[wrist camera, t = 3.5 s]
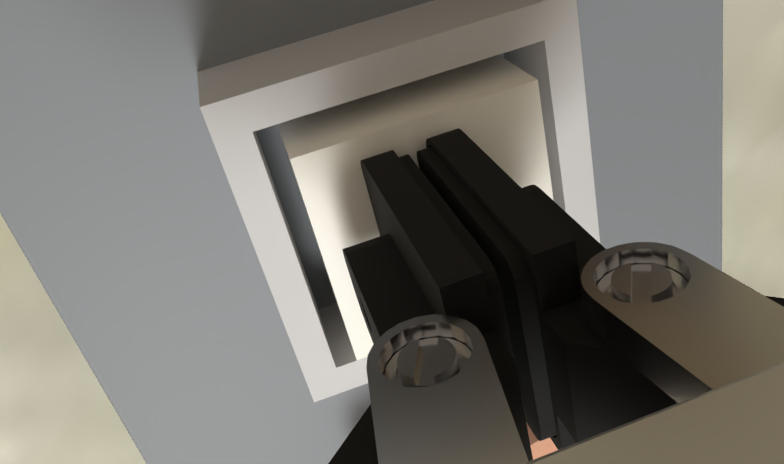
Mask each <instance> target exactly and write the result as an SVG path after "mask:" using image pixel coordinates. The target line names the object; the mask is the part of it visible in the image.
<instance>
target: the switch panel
mask: <svg viewBox="0 0 784 464" xmlns="http://www.w3.org/2000/svg"><path fill="white" fill-rule="evenodd" d="M496 55H499V56H501V57H503V58H504V59H506V60H507V61H509V62H510V63H512V64H514V65H515V66H517V67H518V68H520V69H522V70H523V71H525V72H526V73H528V74H529V75H531V76H533V77H534V78H536V79H537V80H538V86H539V93H540V101H541V109H542V116H543V124H544V131H545V139H546V147H547V154H548V162H549V169H550V177H551V184H552V192H553V200H554V202H555V203H557V204H558V205H559V206H560V207H561V208H562V209H563V210H564V211H565V212H566V213H567V214H568V215H570V216H571V217H572V218H573V219H574V220H575V221H576V222H577V223H578V224H579V225H580V226H582V227H583V228H584V229H585V230H586V231H587V232H588V233H589V234H590V235H591V236H592V237H593V238H595V239H596V240H597V241H598V242H599V243H600V244H601V245H602V246H603V247H604V248H605V249H608V248H611V247H614V246H617V245H620V244H627V243H633V242H657V243H662V244H667V245H672V246H675V247H677V248H680V249H682V250H684V251H687V252H689V253H690V254H692V255H694V256H696V257H697V258H699V259H701V260H703V261H704V262H706V263H708V264H710V265H711V266H713V267H715V268H717V269H718V270H720V271H722V87H723V0H0V213H1V215H2V217H3V219H4V220H5V222H6V224H7V225H8V227H9V229H10V231H11V232H12V234H13V236H14V237H15V239H16V241H17V243H18V244H19V246H20V248H21V249H22V251H23V253H24V255H25V256H26V258H27V260H28V261H29V263H30V265H31V267H32V268H33V270H34V272H35V273H36V275H37V277H38V279H39V280H40V282H41V284H42V285H43V287H44V289H45V291H46V292H47V294H48V296H49V297H50V299H51V301H52V303H53V304H54V306H55V308H56V309H57V311H58V313H59V315H60V316H61V318H62V320H63V321H64V323H65V325H66V327H67V328H68V330H69V332H70V333H71V335H72V337H73V339H74V340H75V342H76V344H77V345H78V347H79V349H80V350H81V352H82V354H83V356H84V357H85V359H86V361H87V362H88V364H89V366H90V368H91V369H92V371H93V373H94V374H95V376H96V378H97V380H98V381H99V383H100V385H101V386H102V388H103V390H104V392H105V393H106V395H107V397H108V398H109V400H110V402H111V404H112V405H113V407H114V409H115V410H116V412H117V414H118V416H119V417H120V419H121V421H122V422H123V424H124V426H125V428H126V429H127V431H128V433H129V434H130V436H131V438H132V440H133V441H134V443H135V445H136V446H137V448H138V450H139V452H140V453H141V455H142V457H143V458H144V460H145V462H146V464H328V463H329V462H330V460H331V459H332V458H333V456H334V455H335V453H336V452H337V451H338V449H339V448H340V446H341V445H342V444H343V442H344V441H345V439H346V438H347V436H348V435H349V434H350V432H351V431H352V429H353V428H354V427H355V425H356V424H357V422H358V421H359V420H360V418H361V417H362V415H363V414H364V413H365V411H366V410H367V408H368V407H369V406H370V404H371V401H370V393H369V385H368V378H367V370H366V366H367V357H365V358H362V359H360V360H357V359H356V356H355V354H354V351H353V348H352V345H351V342H350V339H349V336H348V333H347V330H346V328H345V325H344V322H343V319H342V316H341V313H340V310H339V307H338V305H337V302H336V299H335V296H334V293H333V290H332V287H331V284H330V281H329V278H328V275H327V272H326V269H325V266H324V263H323V260H322V257H321V254H320V251H319V248H318V245H317V242H316V239H315V236H314V233H313V230H312V227H311V224H310V221H309V218H308V215H307V212H306V209H305V206H304V203H303V200H302V197H301V194H300V191H299V188H298V185H297V182H296V179H295V176H294V173H293V170H292V167H291V164H290V161H289V158H288V155H287V152H286V149H285V146H284V143H283V140H282V137H281V134H280V131H279V128H278V125H277V124H280V123H283V122H286V121H289V120H292V119H295V118H299V117H302V116H305V115H308V114H311V113H315V112H318V111H321V110H324V109H327V108H330V107H334V106H337V105H340V104H343V103H346V102H349V101H353V100H356V99H359V98H362V97H365V96H369V95H372V94H375V93H378V92H381V91H384V90H388V89H391V88H394V87H397V86H400V85H404V84H407V83H410V82H413V81H416V80H419V79H423V78H426V77H429V76H432V75H435V74H438V73H442V72H445V71H448V70H451V69H454V68H458V67H461V66H464V65H467V64H470V63H473V62H477V61H480V60H483V59H486V58H489V57H492V56H496Z"/></svg>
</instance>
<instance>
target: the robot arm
mask: <svg viewBox="0 0 784 464" xmlns="http://www.w3.org/2000/svg"><path fill="white" fill-rule="evenodd" d="M417 159H418V164H419V167H418V166H417V165H416V163H415V162H414V161H413V159H412V158H411V157H410V156H409V155H408V154H407V155H404V156H401V157H398V156H397V154H396V153H395V152H394V151H393V150H391V151H388V152H385V153H382V154H379V155H376V156H372V157H369V158H366V159H363V160H361V161H360V162H361V168H362V172H363V176H364V179H365V183H366V186H367V190H368V194H369V197H370V201H371V204H372V208H373V211H374V215H375V219H376V222H377V226H378V229H379V233H380V237H377V238H374V239H371V240H368V241H365V242H362V243H359V244H356V245H353V246H350V247H347V248H344V249H342V250H343V255H344V258H345V262H346V265H347V268H348V271H349V275H350V278H351V281H352V284H353V287H354V290H355V294H356V297H357V300H358V303H359V306H360V309H361V312H362V314H363V317H364V320H365V323H366V326H367V328H368V331H369V334H370V336H371V339H372V341H373V346H372V348H371V350H370V352H369V354H368V356H367V366H366V370H367V378H368V385H369V393H370V401H371V404H370V406H369V407H368V408H367V410H366V411H365V413H364V414H363V415H362V417H361V418H360V420H359V421H358V422H357V424H356V425H355V427H354V428H353V429H352V431H351V432H350V434H349V435H348V436H347V438H346V439H345V441H344V442H343V444H342V445H341V446H340V448H339V449H338V451H337V452H336V453H335V455H334V456H333V458H332V459H331V460H330V462H329V463H328V464H784V298H776V297H768V296H764V295H762V294H760V293H759V292H757V291H755V290H753V289H752V288H750V287H748V286H746V285H745V284H743V283H741V282H739V281H738V280H736V279H734V278H732V277H731V276H729V275H727V274H725V273H724V272H722V271H720V270H718V269H717V268H715V267H713V266H711V265H710V264H708V263H706V262H704V261H703V260H701V259H699V258H697V257H696V256H694V255H692V254H690V253H689V252H687V251H684V250H682V249H680V248H677V247H675V246H672V245H667V244H662V243H657V242H633V243H627V244H620V245H617V246H614V247H611V248H608V249H605V248H604V247H603V246H602V245H601V244H600V243H599V242H598V241H597V240H596V239H595V238H593V237H592V236H591V235H590V234H589V233H588V232H587V231H586V230H585V229H584V228H583V227H582V226H580V225H579V224H578V223H577V222H576V221H575V220H574V219H573V218H572V217H571V216H570V215H568V214H567V213H566V212H565V211H564V210H563V209H562V208H561V207H560V206H559V205H558V204H557V203H555V202H554V201H553V200H552V199H551V198H550V197H549V196H548V195H547V194H546V193H545V192H544V191H542V190H541V189H540V188H539V187H537V186H536V185H529V186H526V187H523V188H521V187H520V186H519V185H518V184H517V183H516V182H515V181H514V180H513V179H512V178H511V177H510V176H509V175H508V174H506V173H505V172H504V171H503V170H502V169H501V168H500V167H499V166H498V165H497V164H496V163H495V162H494V161H493V160H492V159H491V158H490V157H489V156H488V155H487V154H486V153H485V152H484V151H483V150H482V149H481V148H480V147H479V146H478V145H477V144H476V143H475V142H473V141H472V140H471V139H470V138H469V137H468V136H467V135H466V134H465V133H464V132H463V131H462V130H461V129H459V128H458V129H455V130H452V131H449V132H446V133H443V134H440V135H437V136H434V137H430V138H428V139H426V148H425V149H422V150H419V151H417ZM526 422H527V423H526ZM527 424H528V426H529V427H530V429H531V430H532V432H533V434H534V435H535V437H536V438H537V439H538V440H539V441H542V440H545V439H547V438H551V440H552V441H553V443H554V444H555V446H556V448H557V449H558V450H557V451H554V452H552V453H549V454H547V455H544V456H541V457H539V458H536V459H534V460H533V456H532V451H531V446H530V440H529V434H528V429H527Z"/></svg>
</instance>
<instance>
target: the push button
mask: <svg viewBox="0 0 784 464" xmlns="http://www.w3.org/2000/svg"><path fill="white" fill-rule="evenodd" d="M277 125H278V128H279V131H280V134H281V137H282V140H283V143H284V146H285V149H286V152H287V155H288V158H289V161H290V164H291V167H292V170H293V173H294V176H295V179H296V182H297V185H298V188H299V191H300V194H301V197H302V200H303V203H304V206H305V209H306V212H307V215H308V218H309V221H310V224H311V227H312V230H313V233H314V236H315V239H316V242H317V245H318V248H319V251H320V254H321V257H322V260H323V263H324V266H325V269H326V272H327V275H328V278H329V281H330V284H331V287H332V290H333V293H334V296H335V299H336V302H337V305H338V307H339V310H340V313H341V316H342V319H343V322H344V325H345V328H346V330H347V333H348V336H349V339H350V342H351V345H352V348H353V351H354V354H355V356H356V359H357V360H360V359H362V358H365V357H367V356H368V354H369V352H370V350H371V348H372V346H373V341H372V339H371V336H370V334H369V331H368V328H367V326H366V323H365V320H364V317H363V314H362V312H361V309H360V306H359V303H358V300H357V297H356V294H355V290H354V287H353V284H352V281H351V278H350V275H349V271H348V268H347V265H346V262H345V258H344V255H343V250H342V249H344V248H347V247H350V246H353V245H356V244H359V243H362V242H365V241H368V240H371V239H374V238H377V237H380V233H379V229H378V226H377V222H376V219H375V215H374V211H373V208H372V204H371V201H370V197H369V194H368V190H367V186H366V183H365V179H364V176H363V172H362V168H361V162H360V161H361V160H363V159H366V158H369V157H372V156H376V155H379V154H382V153H385V152H388V151H391V150H393V151H394V152H395V153H396V154H397V156H398V157H401V156H404V155H407V154H408V155H409V156H410V157H411V158H412V159H413V161H414V162H415V163H416V165H417V166H418V167H419V164H418V159H417V151H419V150H422V149H425V148H426V139H428V138H430V137H434V136H437V135H440V134H443V133H446V132H449V131H452V130H455V129H458V128H459V129H461V130H462V131H463V132H464V133H465V134H466V135H467V136H468V137H469V138H470V139H471V140H472V141H473V142H475V143H476V144H477V145H478V146H479V147H480V148H481V149H482V150H483V151H484V152H485V153H486V154H487V155H488V156H489V157H490V158H491V159H492V160H493V161H494V162H495V163H496V164H497V165H498V166H499V167H500V168H501V169H502V170H503V171H504V172H505V173H506V174H508V175H509V176H510V177H511V178H512V179H513V180H514V181H515V182H516V183H517V184H518V185H519V186H520V187H521V188H523V187H526V186H529V185H536V186H537V187H539V188H540V189H541V190H542V191H544V192H545V193H546V194H547V195H548V196H549V197H550V198H551V199H552V200H553V192H552V184H551V177H550V169H549V162H548V154H547V147H546V139H545V131H544V124H543V116H542V109H541V101H540V93H539V86H538V80H537V79H536V78H534V77H533V76H531V75H529V74H528V73H526V72H525V71H523V70H522V69H520V68H518V67H517V66H515V65H514V64H512V63H510V62H509V61H507V60H506V59H504V58H503V57H501V56H499V55H496V56H492V57H489V58H486V59H483V60H480V61H477V62H473V63H470V64H467V65H464V66H461V67H458V68H454V69H451V70H448V71H445V72H442V73H438V74H435V75H432V76H429V77H426V78H423V79H419V80H416V81H413V82H410V83H407V84H404V85H400V86H397V87H394V88H391V89H388V90H384V91H381V92H378V93H375V94H372V95H369V96H365V97H362V98H359V99H356V100H353V101H349V102H346V103H343V104H340V105H337V106H334V107H330V108H327V109H324V110H321V111H318V112H315V113H311V114H308V115H305V116H302V117H299V118H295V119H292V120H289V121H286V122H283V123H280V124H277ZM553 201H554V200H553Z"/></svg>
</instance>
